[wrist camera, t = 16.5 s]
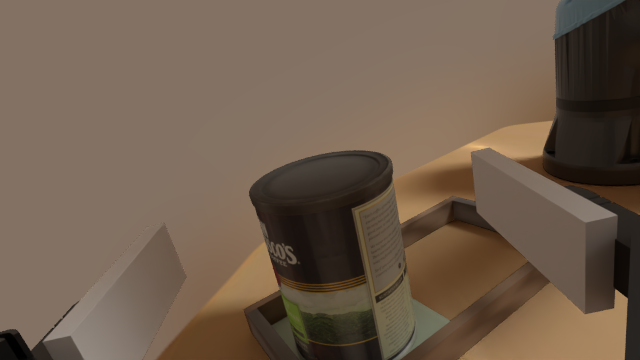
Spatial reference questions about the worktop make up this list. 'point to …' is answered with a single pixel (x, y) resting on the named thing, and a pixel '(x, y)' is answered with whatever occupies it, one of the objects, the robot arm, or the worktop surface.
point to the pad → (425, 316)
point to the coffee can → (339, 255)
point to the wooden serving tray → (456, 336)
